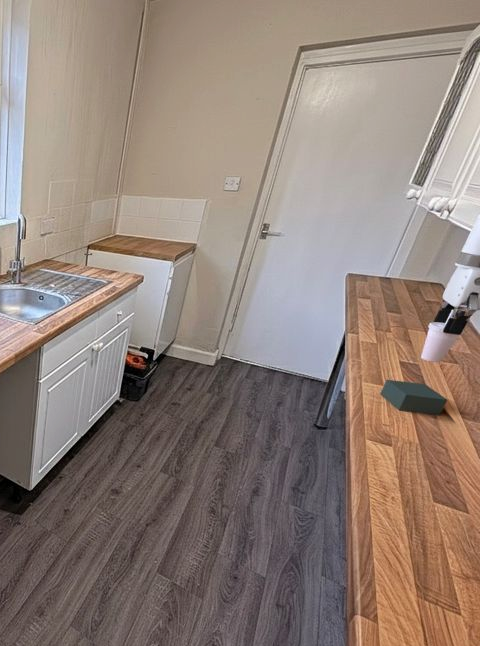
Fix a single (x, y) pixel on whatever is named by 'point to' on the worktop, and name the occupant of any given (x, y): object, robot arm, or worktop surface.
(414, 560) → the worktop surface
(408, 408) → the block
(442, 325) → the smoothie
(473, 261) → the robot arm
